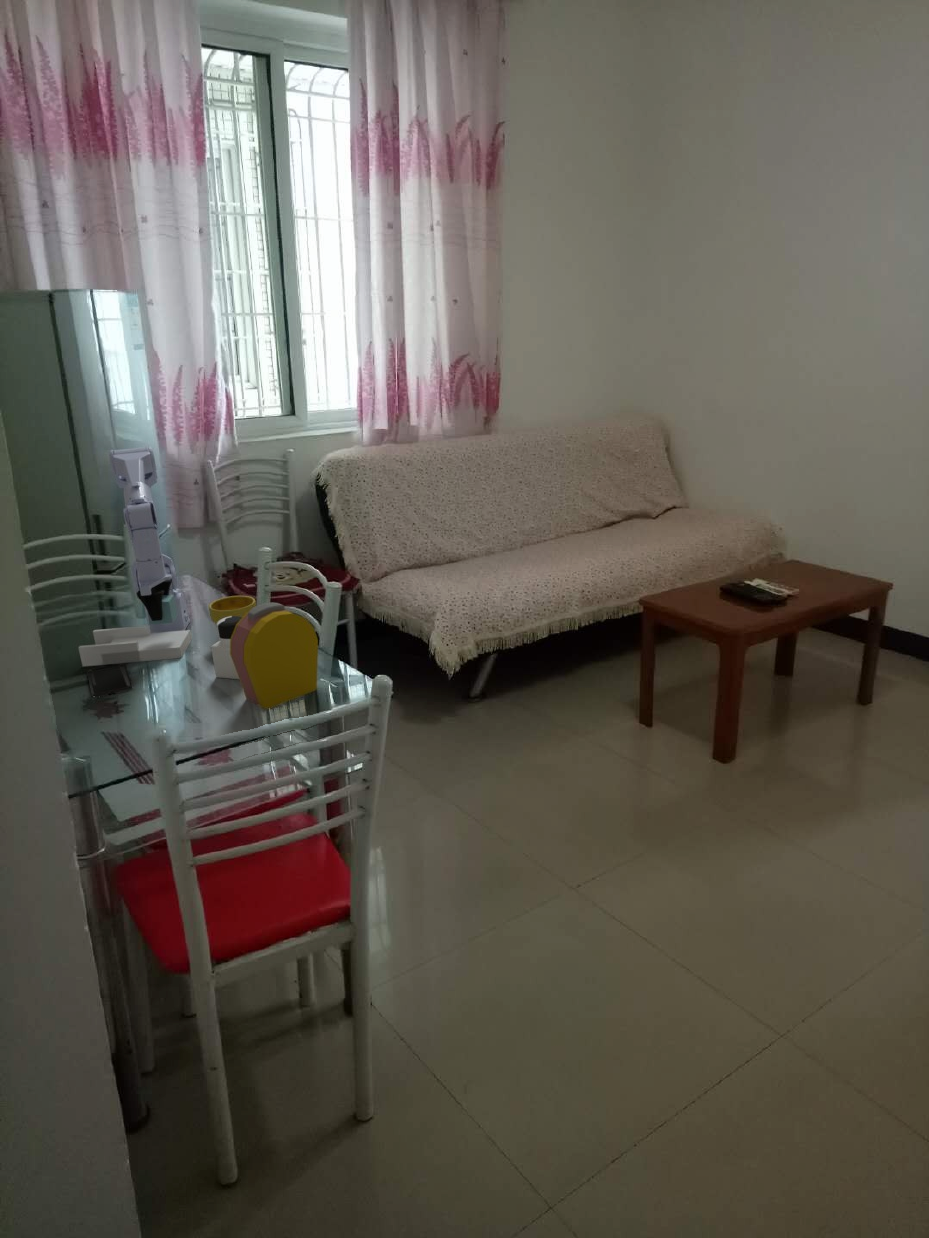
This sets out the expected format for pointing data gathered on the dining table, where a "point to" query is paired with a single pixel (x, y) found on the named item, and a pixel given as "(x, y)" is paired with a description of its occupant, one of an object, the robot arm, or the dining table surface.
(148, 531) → the robot arm
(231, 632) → the medicine bottle
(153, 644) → the grey channel
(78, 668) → the dining table surface
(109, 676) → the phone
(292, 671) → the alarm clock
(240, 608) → the plant pot
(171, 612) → the teal block
